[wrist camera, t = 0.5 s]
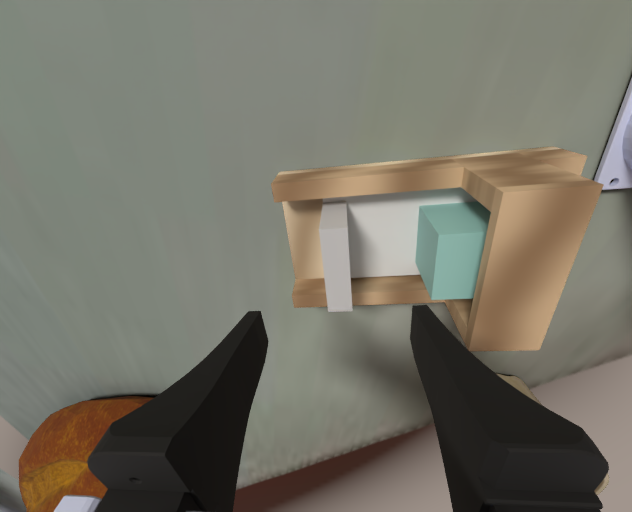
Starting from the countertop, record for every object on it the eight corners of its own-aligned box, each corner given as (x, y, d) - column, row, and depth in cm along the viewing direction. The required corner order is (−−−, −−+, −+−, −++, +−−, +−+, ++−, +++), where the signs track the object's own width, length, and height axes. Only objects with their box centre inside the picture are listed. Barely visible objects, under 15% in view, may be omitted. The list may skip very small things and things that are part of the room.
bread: (17, 437, 44) (-86, 548, 34) (123, 347, 32) (14, 477, 21) (136, 492, 52) (82, 598, 41) (260, 436, 39) (230, 567, 28)
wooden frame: (553, 146, 19) (670, 179, 12) (516, 275, 24) (585, 349, 17) (279, 172, 21) (251, 211, 14) (298, 285, 26) (284, 354, 19)
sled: (501, 179, 19) (549, 206, 15) (482, 266, 22) (517, 310, 18) (322, 193, 20) (318, 223, 16) (330, 274, 24) (328, 316, 19)
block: (489, 200, 19) (527, 229, 15) (478, 258, 21) (508, 297, 17) (419, 205, 20) (438, 235, 16) (415, 262, 22) (431, 299, 18)
